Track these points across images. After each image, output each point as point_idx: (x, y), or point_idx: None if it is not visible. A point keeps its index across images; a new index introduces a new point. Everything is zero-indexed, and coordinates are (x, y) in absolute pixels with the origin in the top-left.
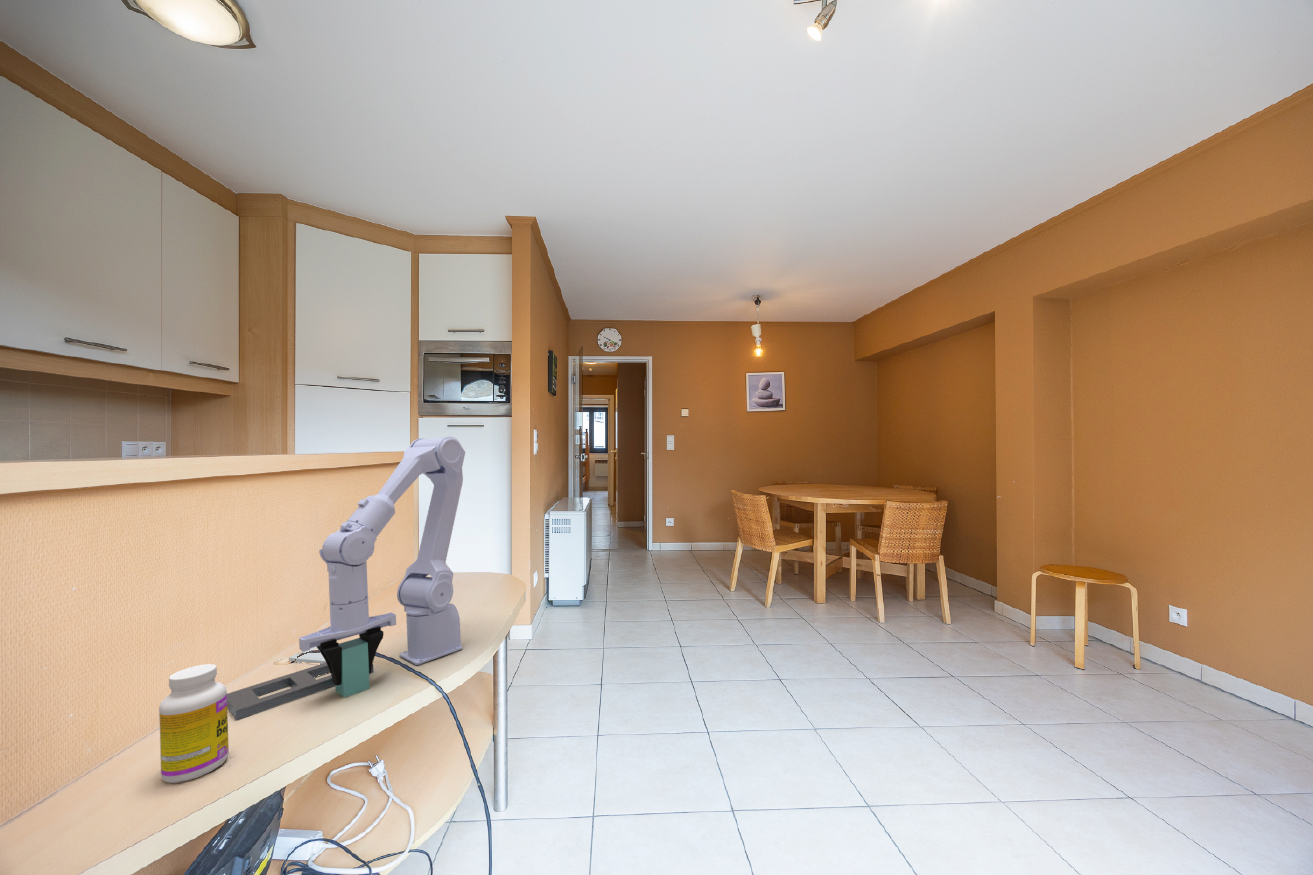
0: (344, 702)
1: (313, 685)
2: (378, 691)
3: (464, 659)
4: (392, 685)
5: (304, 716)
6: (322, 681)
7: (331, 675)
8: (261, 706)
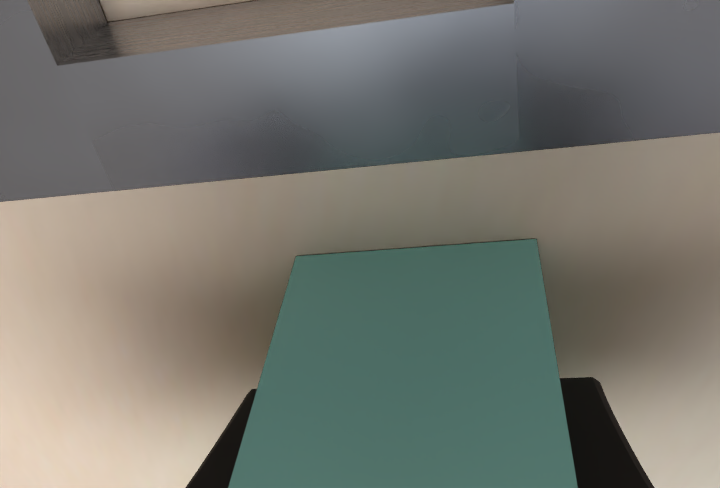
0: None
1: (62, 185)
2: None
3: None
4: (687, 468)
5: (104, 453)
6: (146, 185)
7: (215, 446)
8: None
